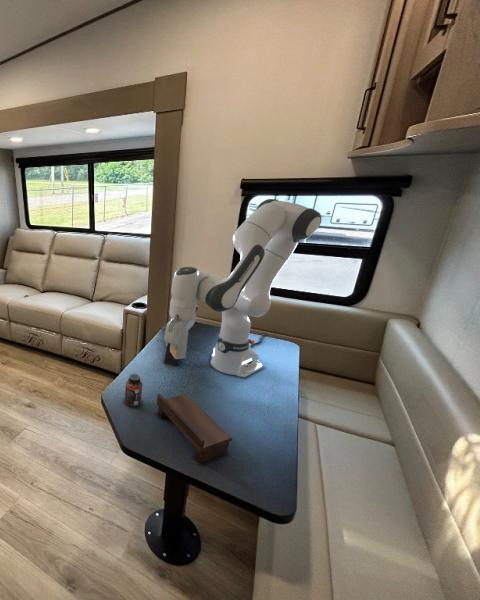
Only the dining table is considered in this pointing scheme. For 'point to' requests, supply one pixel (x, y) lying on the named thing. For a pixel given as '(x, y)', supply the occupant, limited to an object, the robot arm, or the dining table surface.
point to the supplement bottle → (133, 390)
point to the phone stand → (170, 357)
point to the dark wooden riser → (195, 426)
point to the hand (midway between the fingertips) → (178, 344)
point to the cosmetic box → (181, 346)
